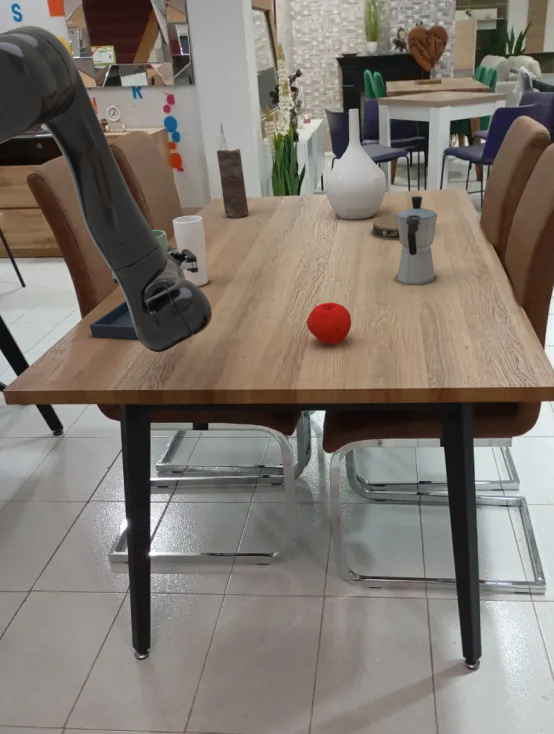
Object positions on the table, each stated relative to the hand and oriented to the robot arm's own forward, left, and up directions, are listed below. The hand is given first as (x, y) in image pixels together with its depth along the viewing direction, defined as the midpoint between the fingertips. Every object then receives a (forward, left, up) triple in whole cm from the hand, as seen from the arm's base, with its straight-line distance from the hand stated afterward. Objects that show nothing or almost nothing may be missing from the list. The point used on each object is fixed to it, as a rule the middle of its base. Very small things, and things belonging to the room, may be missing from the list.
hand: (150, 254), depth 120 cm
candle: (+102, +26, -18) cm, 107 cm away
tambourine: (+85, -30, -18) cm, 92 cm away
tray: (+11, +11, -18) cm, 24 cm away
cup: (-2, -1, -6) cm, 6 cm away
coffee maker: (+44, -40, -18) cm, 62 cm away
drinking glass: (+36, +10, -18) cm, 42 cm away
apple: (+7, -30, -18) cm, 35 cm away
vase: (+103, -13, -18) cm, 106 cm away
